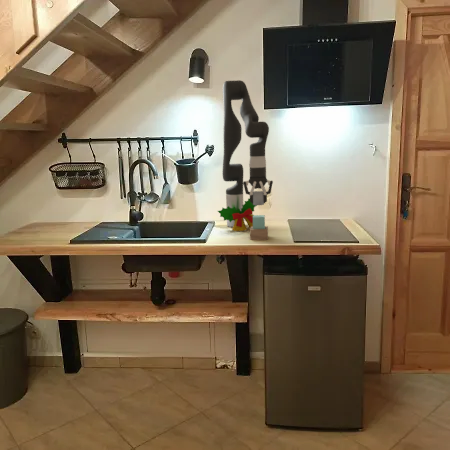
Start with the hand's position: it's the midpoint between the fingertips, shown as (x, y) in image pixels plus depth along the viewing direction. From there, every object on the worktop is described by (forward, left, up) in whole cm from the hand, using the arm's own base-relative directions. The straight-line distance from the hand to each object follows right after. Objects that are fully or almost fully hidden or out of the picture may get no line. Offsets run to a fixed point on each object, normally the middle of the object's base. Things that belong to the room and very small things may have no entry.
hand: (258, 203), depth 206 cm
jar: (0, 0, -1) cm, 1 cm away
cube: (0, 0, -12) cm, 12 cm away
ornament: (-20, -11, -17) cm, 28 cm away
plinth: (0, 0, -17) cm, 17 cm away
